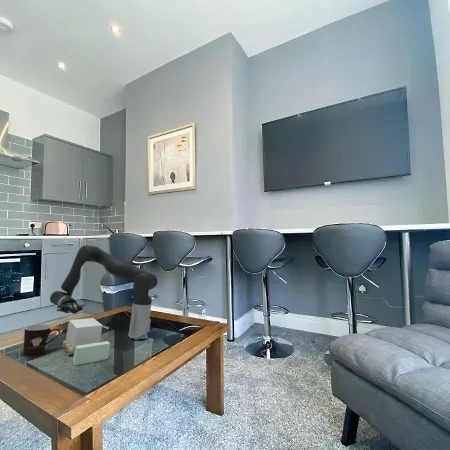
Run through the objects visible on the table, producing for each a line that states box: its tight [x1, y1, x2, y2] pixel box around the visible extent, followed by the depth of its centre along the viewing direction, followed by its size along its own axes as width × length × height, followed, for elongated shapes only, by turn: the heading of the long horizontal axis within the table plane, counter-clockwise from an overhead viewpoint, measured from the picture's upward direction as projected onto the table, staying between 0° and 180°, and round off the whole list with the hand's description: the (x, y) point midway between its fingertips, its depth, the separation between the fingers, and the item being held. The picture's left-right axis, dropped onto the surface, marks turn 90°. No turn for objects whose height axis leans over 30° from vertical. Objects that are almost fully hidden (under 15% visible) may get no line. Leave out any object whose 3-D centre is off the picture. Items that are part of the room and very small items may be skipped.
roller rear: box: [62, 339, 69, 349], centre depth 110 cm, size 12×3×3 cm, turn 134°
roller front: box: [66, 347, 75, 356], centre depth 104 cm, size 12×3×3 cm, turn 134°
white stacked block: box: [65, 317, 103, 349], centre depth 108 cm, size 10×13×8 cm
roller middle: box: [64, 344, 71, 353], centre depth 107 cm, size 12×3×3 cm, turn 134°
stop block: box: [72, 340, 111, 366], centre depth 97 cm, size 12×3×6 cm, turn 134°
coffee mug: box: [22, 323, 61, 357], centre depth 99 cm, size 12×9×10 cm
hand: (75, 311), depth 121 cm, fingers closed
